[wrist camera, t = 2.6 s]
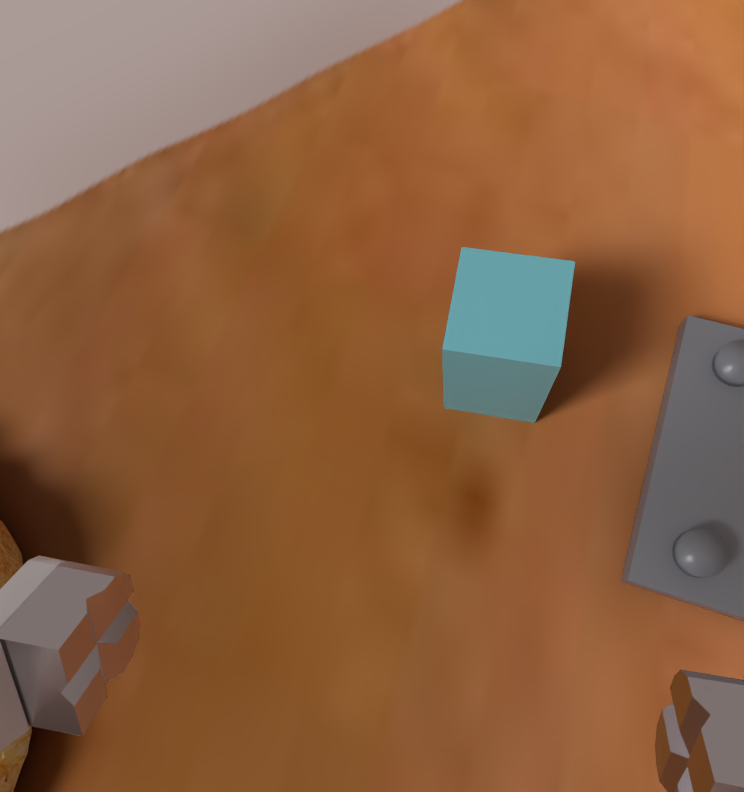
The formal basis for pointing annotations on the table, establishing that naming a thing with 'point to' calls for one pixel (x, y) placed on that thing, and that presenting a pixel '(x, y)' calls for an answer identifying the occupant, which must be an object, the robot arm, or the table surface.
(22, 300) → the table surface
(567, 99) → the table surface
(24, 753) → the croissant
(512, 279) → the teal brick
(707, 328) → the stack base
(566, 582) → the table surface
